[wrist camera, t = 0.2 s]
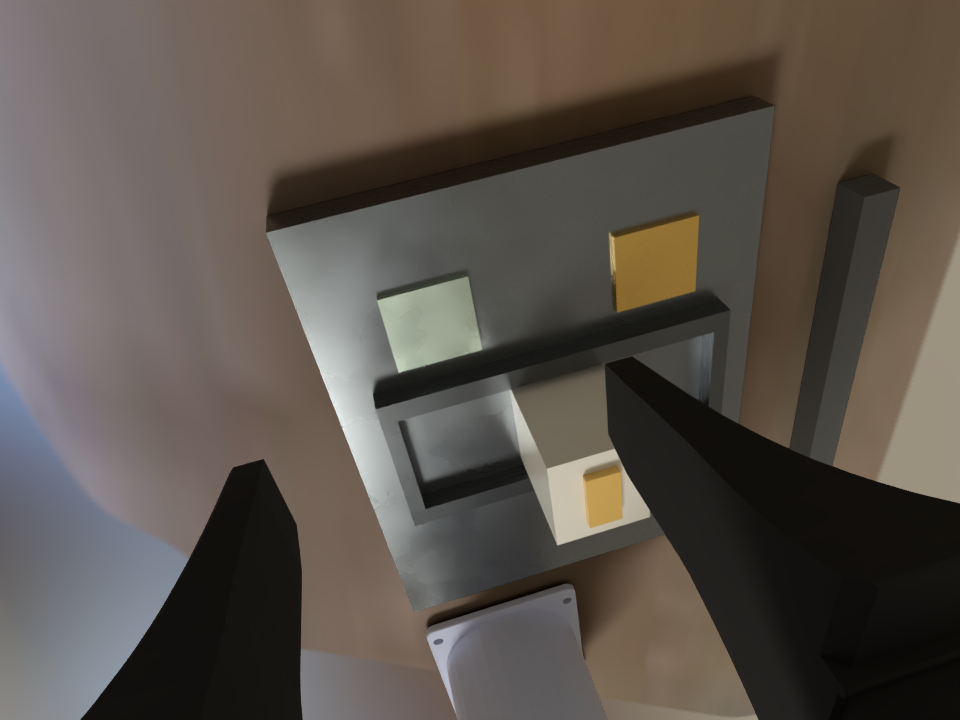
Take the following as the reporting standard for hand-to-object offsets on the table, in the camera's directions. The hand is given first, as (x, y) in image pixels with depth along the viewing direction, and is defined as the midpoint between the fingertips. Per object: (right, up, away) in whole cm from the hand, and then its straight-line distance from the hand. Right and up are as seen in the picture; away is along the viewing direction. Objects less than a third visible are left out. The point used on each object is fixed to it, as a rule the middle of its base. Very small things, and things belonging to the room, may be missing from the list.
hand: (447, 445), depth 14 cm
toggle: (+4, 0, +12) cm, 13 cm away
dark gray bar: (+16, +2, +16) cm, 22 cm away
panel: (+3, 0, +13) cm, 14 cm away
